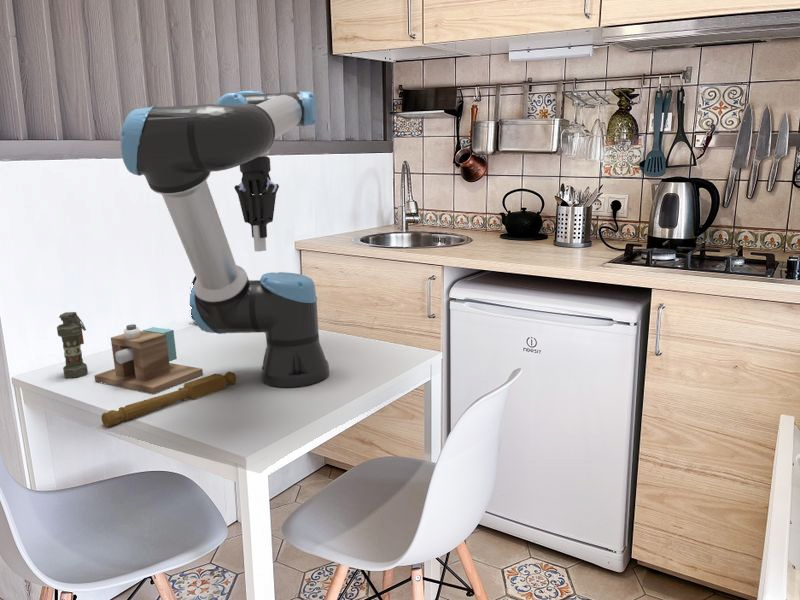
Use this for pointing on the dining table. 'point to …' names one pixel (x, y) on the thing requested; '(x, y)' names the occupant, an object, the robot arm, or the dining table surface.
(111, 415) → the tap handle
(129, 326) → the dial
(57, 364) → the dining table surface
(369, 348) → the dining table surface
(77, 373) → the grenade
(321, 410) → the dining table surface
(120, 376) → the mount
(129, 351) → the teal piece
